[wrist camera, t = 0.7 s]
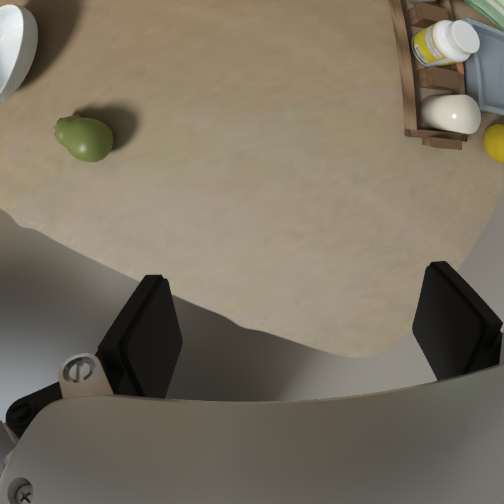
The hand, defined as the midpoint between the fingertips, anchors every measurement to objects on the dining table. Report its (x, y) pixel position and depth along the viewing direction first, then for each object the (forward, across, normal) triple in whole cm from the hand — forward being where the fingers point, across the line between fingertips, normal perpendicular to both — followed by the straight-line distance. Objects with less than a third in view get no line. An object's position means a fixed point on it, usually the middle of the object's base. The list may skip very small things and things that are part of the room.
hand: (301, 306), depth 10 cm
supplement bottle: (+29, -21, -17) cm, 40 cm away
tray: (+29, -33, -16) cm, 47 cm away
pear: (+29, +25, -8) cm, 39 cm away
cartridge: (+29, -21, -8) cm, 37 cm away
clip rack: (+29, -21, -17) cm, 39 cm away
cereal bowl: (+29, +39, -25) cm, 55 cm away
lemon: (+29, -32, -5) cm, 43 cm away
